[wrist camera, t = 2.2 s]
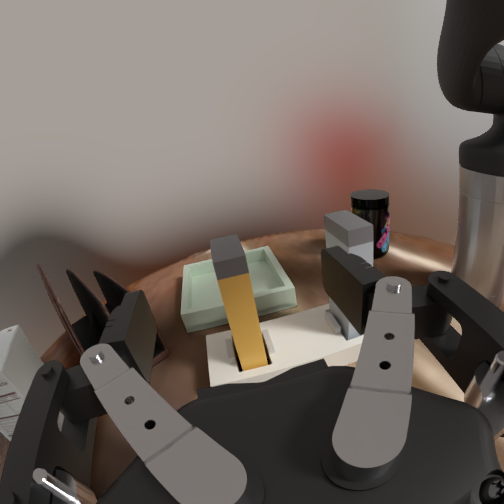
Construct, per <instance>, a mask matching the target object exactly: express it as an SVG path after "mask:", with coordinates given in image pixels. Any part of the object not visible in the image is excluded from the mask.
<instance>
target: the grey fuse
mask: <svg viewBox="0 0 504 504" xmlns="http://www.w3.org/2000/svg"><path fill="white" fill-rule="evenodd" d="M324 225H325V237H326V248H330V247H334V246H340V247H341V248H342V249H343V250H345V251H346V252H347V253H348V254H349V253H352V254H355V255H358V256H360V257H362V258H363V259H364V260H366V261H367V262H368V263H369V264H371V265H372V267H373V224H371V223H369V222H367V221H365V220H364V219H362V218H360V217H358V216H356V215H355V214H353V213H351V212H349V211H347V210H343V211H339V212H334V213H329V214H324ZM329 311H330V313H331V314H332V315H333V317H334V318H335V320H336V321H337V322H338V324H339V325H340V326H341V334H342V335H343V337H344V338H345V340H346V341H348V340H351V339H353V338H356V337H359V336H362V335H359V333H358V332H357V331H356V329H355V328H354V327H353V326H352V324H351V323H350V322H349V321H348V319H347V318H346V317H345V315H344V314H343V313H342V312H341V310H340V309H339V308H338V307H337V305H336V304H335V303H334V302H333V300H332V299H331V298H330V297H329ZM363 335H364V334H363Z"/></svg>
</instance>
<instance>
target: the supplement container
mask: <svg viewBox="0 0 504 504" xmlns="http://www.w3.org/2000/svg"><path fill="white" fill-rule="evenodd" d="M350 199H351V213H353V214H355V215H356V216H358V217H360V218H362V219H364V220H365V221H367V222H369V223H371V224H373V259H375V258H380V257H383V256H384V255H386V254H387V252H388V250H389V205H390V202H389V193H388V192H386V191H382V190H374V189H373V190H372V189H371V190H370V189H369V190H359V191H355V192H352V193H351V194H350Z"/></svg>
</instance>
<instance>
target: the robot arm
mask: <svg viewBox="0 0 504 504" xmlns="http://www.w3.org/2000/svg"><path fill="white" fill-rule="evenodd" d="M503 40H504V0H447V3H446V11H445V16H444V22H443V27H442V31H441V36H440V41H439V47H438V55H437V71H438V79H439V84H440V87H441V90H442V92H443V94H444V96H445V98H446V99H447V100H448V101H449V102H450V103H451V104H452V105H453V106H455V107H457V108H460V109H463V110H467V111H475V112H482V113H491V114H494V118H493V125H492V127H491V128H490V129H489V130H488V131H487V132H485V133H484V134H482V135H480V136H478V137H476V138H472V139H469V140H466V141H464V142H462V143H461V144H460V147H459V164H460V165H459V167H460V168H459V169H460V177H459V178H460V179H459V189H460V190H459V209H458V223H457V234H456V242H455V250H454V257H453V263H452V270H451V273H450V272H446V271H436V272H433V273H431V274H430V275H429V277H428V283H427V285H420V286H411V284H410V282H409V281H408V280H406V279H404V278H401V277H396V276H390V277H386V276H384V275H383V274H382V273H381V272H379V271H378V270H377V269H376V268H374V267H372V265H371V264H369V263H368V262H367V261H366V260H364V259H363V258H362V257H360V256H358V255H355V254H352V253H349V254H348V253H347V252H346V251H345V250H343V249H342V248H341V247H340V246H334V247H330V248H325V249H322V251H321V260H322V276H323V285H324V288H325V291H326V293H327V294H328V295H329V297H330V298H331V299H332V300H333V302H334V303H335V304H336V305H337V307H338V308H339V309H340V310H341V312H342V313H343V314H344V315H345V317H346V318H347V319H348V321H349V322H350V323H351V324H352V326H353V327H354V328H355V329H356V331H357V332H358V333H359V335H363V334H364V337H363V341H362V345H361V349H360V353H359V357H358V360H357V364H356V368H355V367H349V366H328V365H327V363H326V361H325V360H324V358H323V359H320V360H317V361H313V362H310V363H307V364H304V365H300V366H297V367H293V368H291V369H290V370H288V371H286V372H284V373H281V374H279V375H277V376H275V377H273V378H271V379H269V380H267V381H264V382H258V383H228V384H223V385H218V386H213V387H208V388H202V389H197V392H198V399H196V400H194V401H192V402H190V403H188V404H186V405H184V406H183V407H181V408H180V409H179V410H177V411H175V410H174V409H173V408H172V407H171V406H170V405H169V404H168V403H167V402H166V401H165V400H164V399H163V398H162V397H161V396H160V395H159V394H158V393H157V392H156V391H155V390H154V389H153V388H152V387H151V386H150V377H151V369H152V361H153V354H154V347H155V341H156V334H157V327H156V322H155V319H154V317H153V314H152V312H151V309H150V307H149V304H148V302H147V299H146V296H145V294H144V292H143V291H142V290H138V291H134V292H129V293H126V294H125V296H124V298H123V301H122V303H121V305H120V306H117V307H116V308H115V309H114V310H113V311H112V312H111V314H110V316H109V319H108V322H107V323H106V326H105V327H106V328H104V331H103V333H102V336H101V338H100V341H99V344H97V345H94V346H92V347H90V348H89V349H87V350H86V351H85V352H84V353H83V355H82V356H81V359H80V364H79V365H77V366H74V367H71V368H68V369H66V370H65V368H64V367H63V365H62V364H61V362H59V361H50V362H47V363H45V364H44V365H42V366H41V367H40V368H39V369H38V370H37V372H36V374H35V376H34V379H33V381H32V383H31V386H30V388H29V391H28V393H27V396H26V398H25V401H24V403H23V406H22V409H21V411H20V414H19V417H18V420H17V423H16V426H15V429H14V432H13V435H12V438H11V442H10V445H9V448H8V452H7V456H6V460H5V464H4V468H3V472H2V476H1V481H0V504H504V472H503V470H502V468H501V466H500V463H499V461H498V457H497V453H496V448H495V442H494V441H495V440H496V439H498V438H499V437H504V312H502V311H501V310H500V309H499V308H498V306H499V305H500V304H501V302H502V299H503V296H504V46H502V45H499V44H498V43H499V42H501V41H503ZM452 316H453V317H454V318H455V319H456V320H457V321H458V322H459V323H460V325H461V328H462V336H461V335H460V334H459V333H458V332H457V331H456V330H455V329H454V328H453V327H452V326H451V325H450V323H451V320H452ZM414 339H420V340H421V341H422V342H423V343H424V345H425V346H426V347H427V348H428V349H429V351H430V352H431V353H432V354H433V355H434V356H435V358H436V359H437V360H438V361H439V362H440V364H441V365H442V366H443V367H444V369H445V370H446V371H447V372H448V373H449V375H450V376H451V377H452V378H453V380H454V381H455V382H456V383H457V385H458V386H459V387H460V389H461V390H462V391H463V392H464V401H465V402H461V401H458V400H454V399H451V398H447V397H444V396H440V395H437V394H434V393H430V392H427V391H424V390H421V389H418V388H414V387H411V384H412V372H413V358H414ZM60 412H61V413H62V414H63V416H64V420H63V424H62V429H61V432H60V430H59V427H58V416H59V413H60ZM107 413H108V414H109V416H110V417H111V419H112V420H113V422H114V423H115V425H116V426H117V427H118V429H119V430H120V432H121V433H122V434H123V436H124V437H125V438H126V440H127V441H128V443H129V444H130V445H131V446H132V448H133V449H134V450H135V452H136V453H137V454H138V456H137V457H136V458H135V459H134V460H133V461H132V463H131V464H130V465H129V466H128V467H127V468H126V469H125V471H124V472H123V473H122V474H121V475H120V476H119V477H118V478H117V480H116V481H115V482H114V483H113V484H112V485H111V486H110V487H109V488H108V490H107V491H106V492H105V493H104V494H103V495H102V496H101V497H100V498H99V500H98V501H97V499H96V496H95V494H94V493H93V491H92V490H91V489H90V481H91V468H92V458H93V449H94V440H95V433H96V426H97V419H98V416H101V415H104V414H107Z"/></svg>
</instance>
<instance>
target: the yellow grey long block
mask: <svg viewBox="0 0 504 504" xmlns="http://www.w3.org/2000/svg"><path fill="white" fill-rule="evenodd" d="M210 245H211V254H212V261H213V266H214V270H215V274H216V278H217V281H218V285H219V289H220V293H221V296H222V300H223V304H224V307H225V311H226V314H227V318H228V322H229V325H230V329H231V332H232V336H233V339H234V343H235V346H236V349H237V353H238V356H239V360H240V363H241V366H242V370H243V371H246V370H251V369H255V368H259V367H263V366H266V365H268V362H267V357H266V353H265V348H264V343H263V338H262V333H261V329H260V324H259V319H258V314H257V309H256V304H255V299H254V295H253V290H252V285H251V280H250V275H249V270H248V265H247V260H246V255H245V253H244V250H243V248H242V245H241V243H240V241H239V238H238V236H237V234H234V235H230V236H226V237H221V238H217V239H212V240H210Z"/></svg>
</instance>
